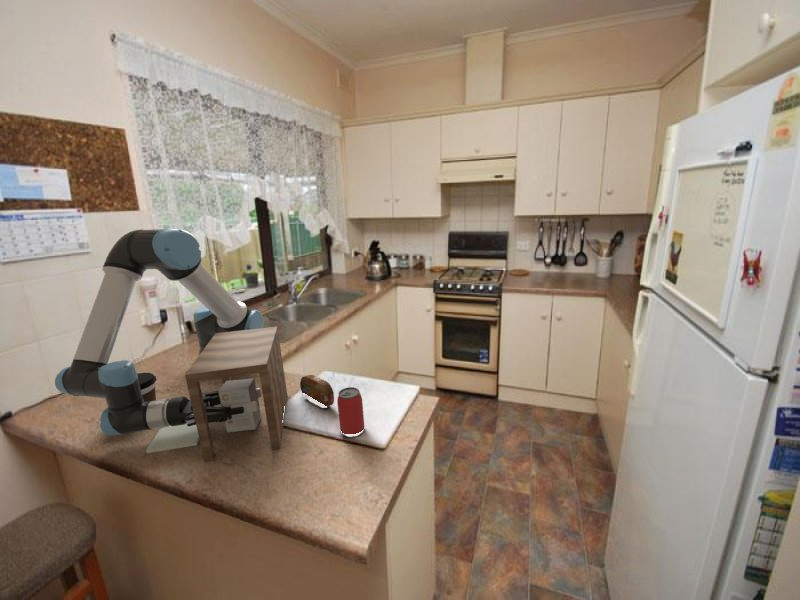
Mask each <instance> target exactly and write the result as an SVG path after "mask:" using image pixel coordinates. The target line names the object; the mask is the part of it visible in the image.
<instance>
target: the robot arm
mask: <svg viewBox="0 0 800 600" xmlns="http://www.w3.org/2000/svg"><path fill="white" fill-rule="evenodd" d="M200 247H201V245H200V243H199V241H198V240H197V238H196V237H195V236H194V235H193V234H192V233H190V232H189V231H186V230H185V229H179V228H171V227H169V228H161V229H160V228H157V229H156V228H155V229H136V230H132V231H129V232H127V233H125V234H124V235H123V236H121V237H120V238H119V239H118V240H117V241H116V242H115V243H114V245H113V247H111V249H110V250H109V252H108V254H107V256H106V257H105V261H104V263H103V266H102V271H103V273H104V276H103V278H102V281H101V283H100V287H99V288H98V291H97V295H96V296H95V297H96V298H95V300H94V303H93V305H92V308H91V310H90V313H89V316H88V318H87V320H86V321H87V322H86V324H85V326H84V329H83V332H82V334H81V337H80V340H79V343H78V345H77V348H76V350H75V353H74V355H73V360H72V362H71V365H70V366H67V367H64V368H62V369H61V370H60V371H59V372H58V373H57V374H56V377H55V379H54V386H55V388H56V390H57V391H59V392H60V393H63V394H65V395H69V396H74V397H89V398H99V399H104V400H105V402H106V404H107V407H106V408H105V409H104V410H103V411H102V412H101V414H100V418H99V421H100V423H99V426H100V430H101V432H102V433H103V434H105V435H106V436H118V435H122V436H123V435H127V434H128V435H129V434H133V433H137V432H143V431H150V430H156V429H162V428H164V427H169V426H178V425H184V424H186V423H187V426H193V425H196V422H195V417H194V413H193V408H192V404H191V400H190V399H188V398H187V397H186V396H178V397H172V398H171V397H170V398H164V399H156V400H155V401H148V402H144V400H143V396H142V393H141V389H140V385H139V381H138V374H137V373H138V372H137V371H136V367H135V365H134V363H133V362H132V361H129V360H125V359H123V360H116V361H112V362H109V361H110V358H111V355H112V352H113V350H114V347H115V344H116V341H117V338H118V335H119V332H120V330H121V326H122V324H123V320H124V317H125V315H126V312H127V309H128V306H129V303H130V301H131V300H130V299H131V297H132V295H133V292H134V289H135V285H136V283H137V282H139V281H140V280H142V278H143V275H144V273H145V272H146V271H147V270H157V271H159V272H160V273H161V274H162V275H163V276H164V277H166V278H167V280H169V281H172V282H174V281H175V282H179V283H180V284H181V286H183V287H184V288H185V289H186V290H187V291H188V292H189V293H190V294H191V295H192V296H194V298H196V299H197V300H198V301H199V302H200V303H201V304H202V305H204V307H202V308H200V309H198V310H196V311H195V312H194V313H193V323H194V327H195V333H196V338H197V341H198V346H199V349H198V356H199V355H200V354H201V352H202V351H203V350H204V348H205V347H206V346H207V344H208V343H209V341H210V340H211V339H212V337H213V336H214V335H215V333H224V332H233V331H241V330H250V329H259V328H264V316H263V314H262V312H261V311H259V310H258V309H250V308H249V307H248V306H247V305H246V304H245V303H244V302H242V301H240V300H239V301H238V300H236V299H235V298H234V297H233V296H232V295H231V293H230V292H228V291H227V290H226V288H225V287H224V286H223V285H222V284H221V283H220V282H219V281H218V279H216V278H215V277H214V275H212V273H211V272H209V270H208V269H207V268H206V266H204V265H203V264H202V249H200ZM198 356H197V357H198ZM256 390H257V396H258V399H260V398H262V389H261V387H256ZM218 391H219V390H214V391H210V392H202V396H203V401H204V405H205V410H206V414H207V419H208V424H213V423H214V424H215V423H223V422H224V423H225V421H227V420H230V419H232V415H236V414H242V413H249V412H255V411H258V407H257V402H256V401H253V402H247V403H240V404H233V405H231V408H230V407H221V402H220V397H219V392H218ZM219 405H220V406H219ZM227 418H228V419H227Z"/></svg>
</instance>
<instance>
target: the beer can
mask: <svg viewBox="0 0 800 600" xmlns="http://www.w3.org/2000/svg"><path fill="white" fill-rule="evenodd" d="M337 394H338V396H337V400H336V403H337V410H338V411H337V412H338V420H339V421H338V422H339V430H341V431H342V433H344V434H356V433H359V432H361V431H362V430H363V429H364V427H365V417H364V407H363V406H364V405H363V398H362V394H361V393H360V389H359V388H357V387H354V386H352V387H351V386H348V387H345V388H342V389H340V390H339V392H338V393H337ZM364 430H365V429H364ZM341 431H340V432H341Z"/></svg>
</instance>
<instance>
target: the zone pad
mask: <svg viewBox="0 0 800 600" xmlns="http://www.w3.org/2000/svg"><path fill="white" fill-rule="evenodd" d="M199 443H200V439H199V435H198V430H197V426H196V425H193V426H187V423H186V424H184V425H178V426H169V427H164V428H162V429H161V428H159V431H158V432H157V433H156V435H155V436H154V437H153V439H152V441H151V442H150V444H149V445H148V447H146V454H150V453H151V454H152V453H153V454H154V453H157V452H165V451H169V450H176V449H181V448H187V447H193V446H194V447H195V446H197V445H198V444H199Z"/></svg>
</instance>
